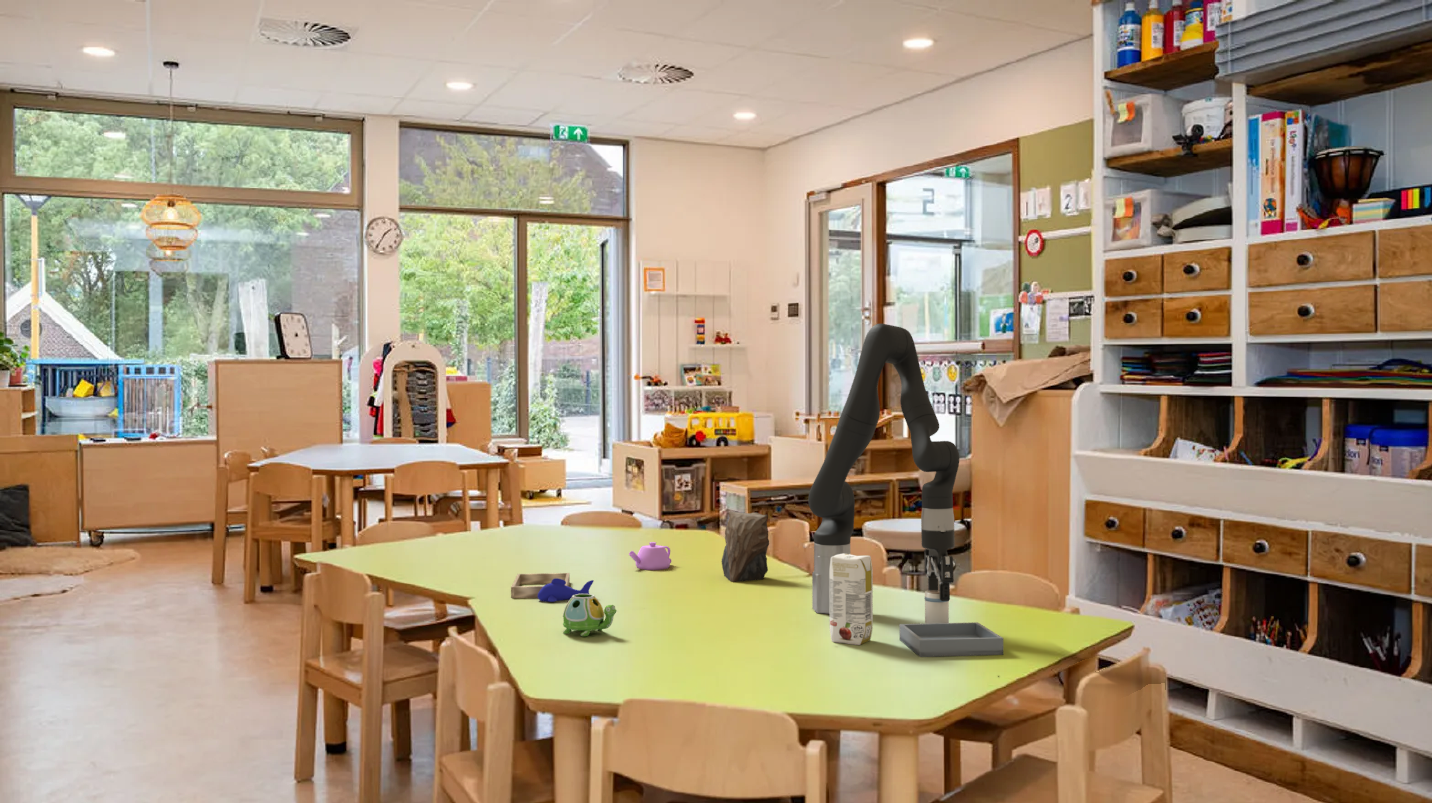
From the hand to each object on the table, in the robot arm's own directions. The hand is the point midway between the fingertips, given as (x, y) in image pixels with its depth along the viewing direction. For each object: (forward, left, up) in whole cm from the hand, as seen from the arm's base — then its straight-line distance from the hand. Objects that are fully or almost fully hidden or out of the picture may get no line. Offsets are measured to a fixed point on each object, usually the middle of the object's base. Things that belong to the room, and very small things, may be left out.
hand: (938, 597), depth 254 cm
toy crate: (-95, +57, -8) cm, 111 cm away
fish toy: (-87, +43, -8) cm, 98 cm away
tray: (-3, -16, -8) cm, 18 cm away
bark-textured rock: (-36, +73, -8) cm, 81 cm away
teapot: (-63, +91, -8) cm, 111 cm away
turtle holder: (-80, +7, -8) cm, 81 cm away
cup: (-1, 0, -8) cm, 8 cm away
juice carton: (-23, -8, -8) cm, 25 cm away
